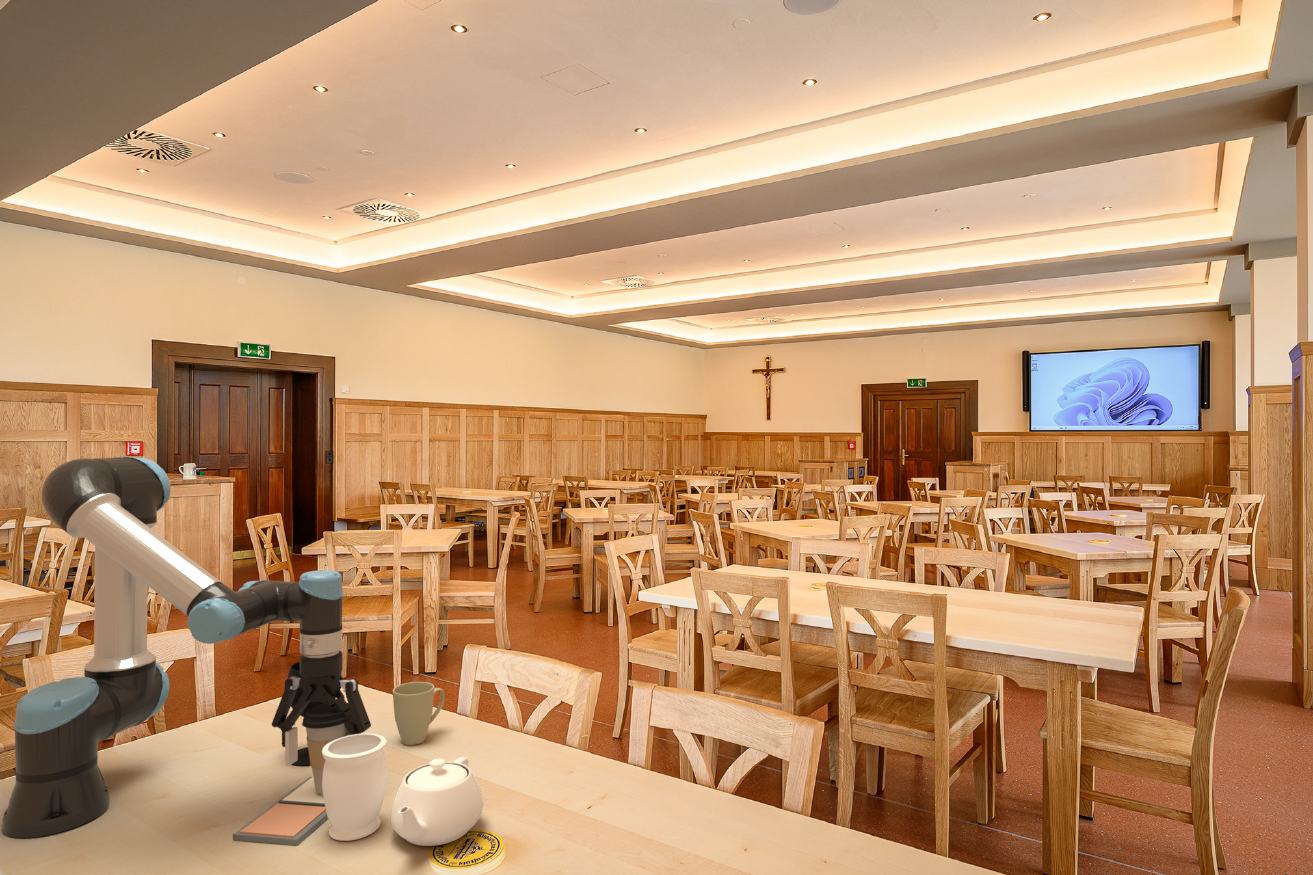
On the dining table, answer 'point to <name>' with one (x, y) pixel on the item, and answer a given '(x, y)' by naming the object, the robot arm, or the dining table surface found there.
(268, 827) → the makeup palette
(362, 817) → the jar
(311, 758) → the coffee cup
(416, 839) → the teapot
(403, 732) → the mug
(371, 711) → the dining table surface
